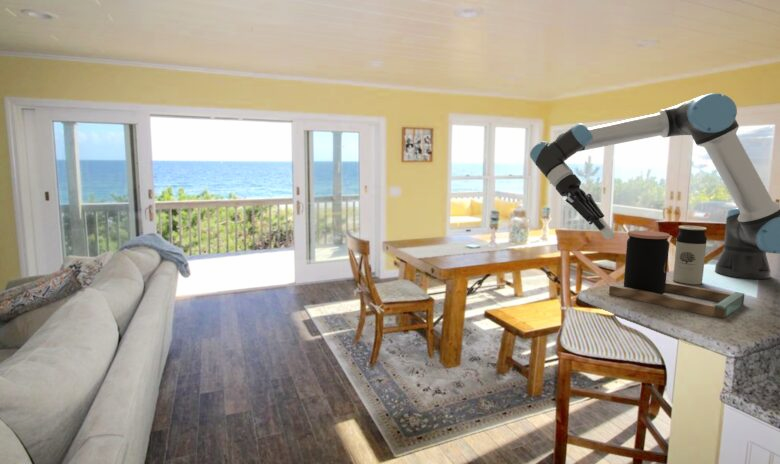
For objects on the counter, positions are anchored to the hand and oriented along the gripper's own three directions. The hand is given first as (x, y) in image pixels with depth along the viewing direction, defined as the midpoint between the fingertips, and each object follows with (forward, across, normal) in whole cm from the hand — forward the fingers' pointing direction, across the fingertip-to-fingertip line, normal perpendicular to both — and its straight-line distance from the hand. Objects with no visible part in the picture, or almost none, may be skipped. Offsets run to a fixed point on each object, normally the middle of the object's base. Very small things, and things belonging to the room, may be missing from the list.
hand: (611, 236), depth 139 cm
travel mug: (+21, -25, -1) cm, 33 cm away
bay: (+24, 0, +2) cm, 24 cm away
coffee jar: (+19, 0, -4) cm, 19 cm away
